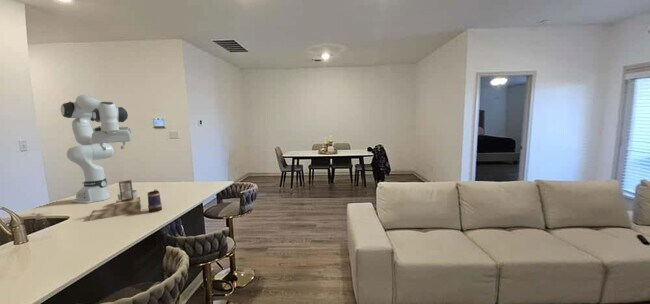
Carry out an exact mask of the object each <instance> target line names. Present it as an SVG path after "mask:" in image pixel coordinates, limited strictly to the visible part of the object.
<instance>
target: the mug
mask: <svg viewBox="0 0 650 304" xmlns="http://www.w3.org/2000/svg"><path fill="white" fill-rule="evenodd" d="M147 204H148V205H147V207H148V212H149V213H158V212H160V211H162V209H163V207H162V201H161V194H160V191H159V190H158V189H154V190H151V191H149V192H147Z"/></svg>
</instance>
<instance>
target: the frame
mask: <svg viewBox="0 0 650 304" xmlns="http://www.w3.org/2000/svg"><path fill="white" fill-rule="evenodd" d="M132 182H133V181H132V179H129V180H128V179H127V180H122V181H118V186H119V193H120V195H121V202H125V201H132V200H134V196H133V190H134V189H133V183H132Z"/></svg>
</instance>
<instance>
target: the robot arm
mask: <svg viewBox="0 0 650 304" xmlns="http://www.w3.org/2000/svg"><path fill="white" fill-rule="evenodd" d="M59 111H60V113H61V115H62V117H64V118H66V119H73V120H72V122H71V127H72V128H71V129H72V133H73V135H74V138H75V141H76V142H77V144H79V145H76V146H73V147H70V148H68V150H67V151H66V156H67V157H66V158H67V159H68V160H69V161H70V162H73V163H75V164H76V165H78V166H79V167H80V168H81V170H82V171H83V175H84V181H82V183H81V184H82V185H83V187H81V188H80V189H79V190H78V191H76V194H75V197H76V198H75V199H72V201H71V203H80V204H90V203H95V202H101V201H105V200H108V199H111V198H112V196H111V194H110V192H109V188H108V185H107V183H108V182H107V178H106V175H105V168H104V167H103V166H102V165H98V164H94V163H93V161H98V160H105V159H109V158H112V157H113V156H114V154H115V153H114V152H115V150H114V147H113V146H112V144H111V143H113V144H114V143H122V145H121V146H120V150H124V149H125V145H126V143H127V142H131V141H132V135H131V133H132V129H131V128H130V127H128V126H124V127H123V126H121V127H120V124H119V123H124V122H126V120H127V119H128V117H129V116H128V115H129V114H128V111H127V109H125V108H124V107H122V106H119V107H118V106H116V104H115V103H114V102H113V101H102V100H99V99H96V98H95V97H93V96H90V95H87V94H80V95H78V96H77V97H76V99H75V102H73V101H69V102H68V101H67V102H64V103H63V104H61V106H60V110H59ZM91 122H97V123H100V124H101V125H100V126H96V127H92V126H91Z"/></svg>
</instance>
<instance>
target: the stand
mask: <svg viewBox="0 0 650 304" xmlns="http://www.w3.org/2000/svg"><path fill="white" fill-rule="evenodd" d="M141 200H142V199H141V196H137V197H136V198H134V200H132V201H125V202H121V200H119V199H118V200H116V201H115V203H114V206H113V207H107V208H101V209H93V210H92V211H91V212H90V214H89V221H96V220H102V219H108V218H113V217H114V218H115V217H118V216H125V215H130V214H138V213H141V210H142V203H141V202H142V201H141Z"/></svg>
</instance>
